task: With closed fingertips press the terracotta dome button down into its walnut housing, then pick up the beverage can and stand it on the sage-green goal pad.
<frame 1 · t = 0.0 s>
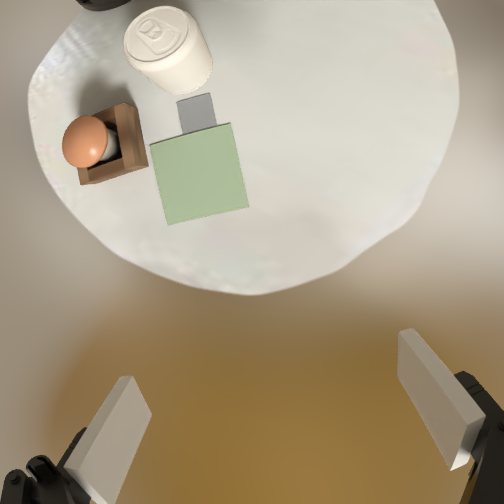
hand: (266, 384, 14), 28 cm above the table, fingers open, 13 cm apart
plunger: (94, 143, 32), point 6 cm above the table, slide at 0.0 cm
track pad: (196, 113, 37), on the table
goal pad: (197, 174, 39), on the table
housing: (115, 146, 38), on the table
beverage can: (183, 68, 36), on the table
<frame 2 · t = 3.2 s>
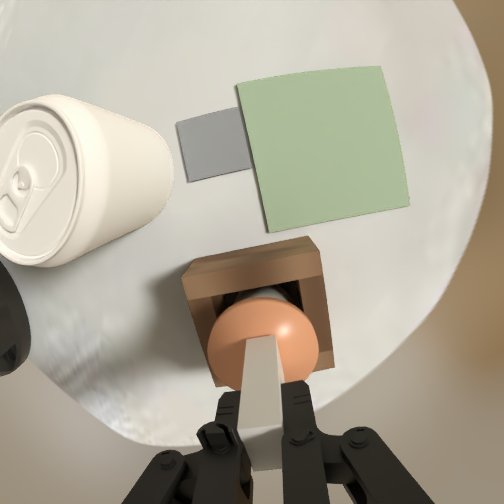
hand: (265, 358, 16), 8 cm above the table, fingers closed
plunger: (262, 329, 19), point 5 cm above the table, slide at 1.3 cm, touching gripper
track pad: (213, 144, 21), on the table
goal pad: (329, 142, 21), on the table
housing: (262, 300, 24), on the table
beverage can: (127, 175, 22), on the table
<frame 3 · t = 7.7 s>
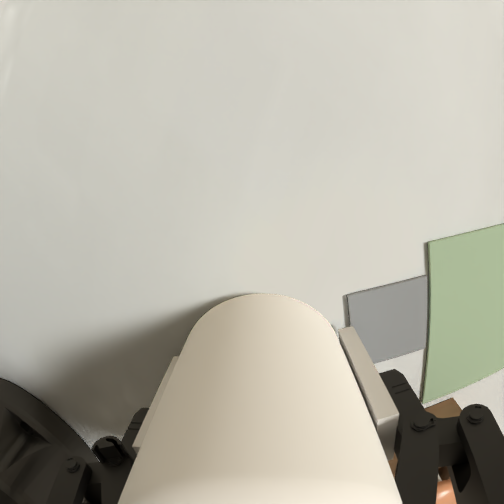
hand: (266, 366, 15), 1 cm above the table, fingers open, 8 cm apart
plunger: (409, 485, 14), point 4 cm above the table, slide at 2.4 cm
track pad: (389, 323, 15), on the table
goal pad: (495, 309, 15), on the table
housing: (396, 451, 18), on the table
beverage can: (262, 357, 16), on the table, touching gripper
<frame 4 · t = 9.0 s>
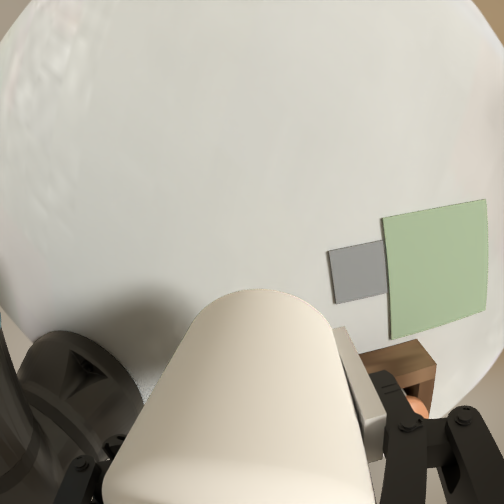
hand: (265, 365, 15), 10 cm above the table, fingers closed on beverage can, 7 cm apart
plunger: (386, 407, 23), point 4 cm above the table, slide at 2.4 cm
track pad: (359, 272, 24), on the table
goal pad: (442, 269, 24), on the table
housing: (376, 384, 27), on the table
beverage can: (261, 351, 17), point 9 cm above the table, touching gripper
when the fingers open (2 cm above the table, at t = 13.1 s): beverage can moves 1 cm, resting on goal pad.
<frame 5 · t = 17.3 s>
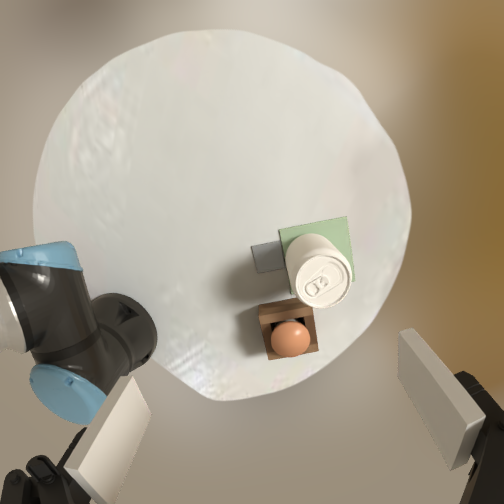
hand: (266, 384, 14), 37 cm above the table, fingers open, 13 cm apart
plunger: (289, 331, 49), point 4 cm above the table, slide at 2.4 cm
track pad: (268, 257, 50), on the table
goal pad: (319, 256, 50), on the table
housing: (287, 322, 53), on the table
beverage can: (310, 257, 50), resting on goal pad
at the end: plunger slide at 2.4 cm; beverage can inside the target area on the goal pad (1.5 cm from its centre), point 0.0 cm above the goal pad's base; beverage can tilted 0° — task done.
